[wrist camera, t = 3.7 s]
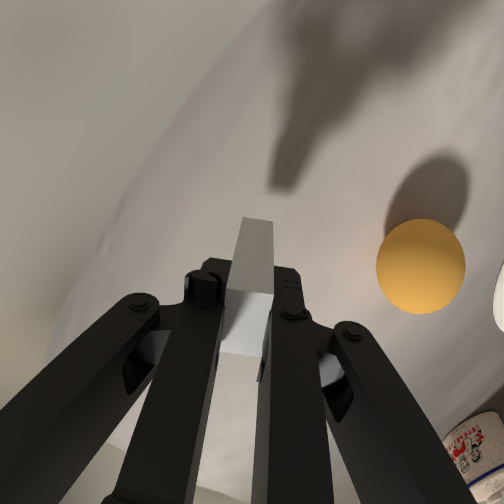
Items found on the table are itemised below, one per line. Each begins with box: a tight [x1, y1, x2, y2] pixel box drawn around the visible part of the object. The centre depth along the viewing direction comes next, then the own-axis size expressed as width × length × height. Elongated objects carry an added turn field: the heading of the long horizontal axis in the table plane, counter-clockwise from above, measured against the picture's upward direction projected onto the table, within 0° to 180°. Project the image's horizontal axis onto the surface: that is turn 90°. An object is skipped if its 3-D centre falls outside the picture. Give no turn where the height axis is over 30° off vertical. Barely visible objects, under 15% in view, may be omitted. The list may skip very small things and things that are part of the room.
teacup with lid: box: [442, 411, 504, 504], centre depth 25 cm, size 12×9×12 cm
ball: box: [376, 219, 465, 314], centre depth 17 cm, size 6×6×6 cm
